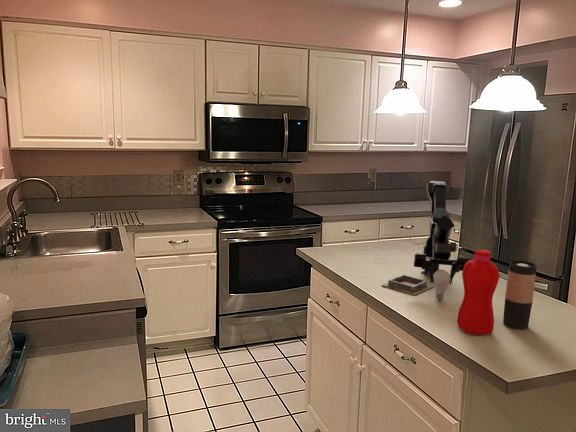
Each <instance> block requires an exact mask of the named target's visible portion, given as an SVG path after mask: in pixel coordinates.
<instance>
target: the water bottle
mask: <svg viewBox="0 0 576 432" xmlns="http://www.w3.org/2000/svg"><path fill="white" fill-rule="evenodd" d="M491 254H492V252H491V251H490V250H487V249H478V250H475V251H474V258H473V259H469V260H470V261H468V262H467V263H466V264H465V266H464V269H463V271H461V277H462V283H463V284H462V285H463V291H464V292H463V298H462V301H461V303H460V307H459V309H458V313H457V319H456V324H457V327H458V328H460V329H461V330H462V331H463V332H464V333H466V334H467V335H471V336H488V335H492V333H493V332H494V327H495V326H494V325H495V324H494V323H495V315H494V307H493V297H494V294H495V292H496V289H497V286H498V283H499V282H500V280H499V279H500V274H499V269H498V266H496V264H495V263H493V262H492V261H491Z"/></svg>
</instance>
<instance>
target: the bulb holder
mask: <svg viewBox="0 0 576 432" xmlns="http://www.w3.org/2000/svg"><path fill="white" fill-rule="evenodd" d="M381 287H383V288H387V289H389V290H393V291H397V292H400V293H403V294H407V295H410V296H414V297H415V296H418V295H420V294H423V293H424V292H426V291H428V290H431V289H432V288H434V286H433V285H431V284H428V280H425V279H421V278H417V277H413V276H410V275H405V274H401V275H398V276H395V277H393V278H390V279H389V280H388V281H387V282H386V283H383V284H382V285H381Z"/></svg>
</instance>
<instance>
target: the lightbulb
mask: <svg viewBox="0 0 576 432" xmlns="http://www.w3.org/2000/svg"><path fill="white" fill-rule="evenodd" d="M433 284H434V288H435V291H434V292H435V298H436V299H437V301H441V300H443V299H444V295H445V293H446V289H447V287H448V286H449V285H450V272H448V271H447V270H445V269H439V270H438V271H436V272H435V273H434V274H433Z"/></svg>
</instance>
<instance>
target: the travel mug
mask: <svg viewBox="0 0 576 432" xmlns="http://www.w3.org/2000/svg"><path fill="white" fill-rule="evenodd" d="M508 266H509V267H508V273H507V282H506V290H505V295H504V308H503V320H502V321H503V322H502V324H503V325H504V326H505V327H507V328H509V329H513V330H517V331H524V330H527V329H528V328H529V324H530V317H531V311H532V306H533V301H534V299H533V298H534V290H535V283H536V276H537V267H538V266H537V264H536V263H534V262H530V261H528V260H527V261H526V260H520V259H517V260H515V259H514V260H511V261H509V265H508Z"/></svg>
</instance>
